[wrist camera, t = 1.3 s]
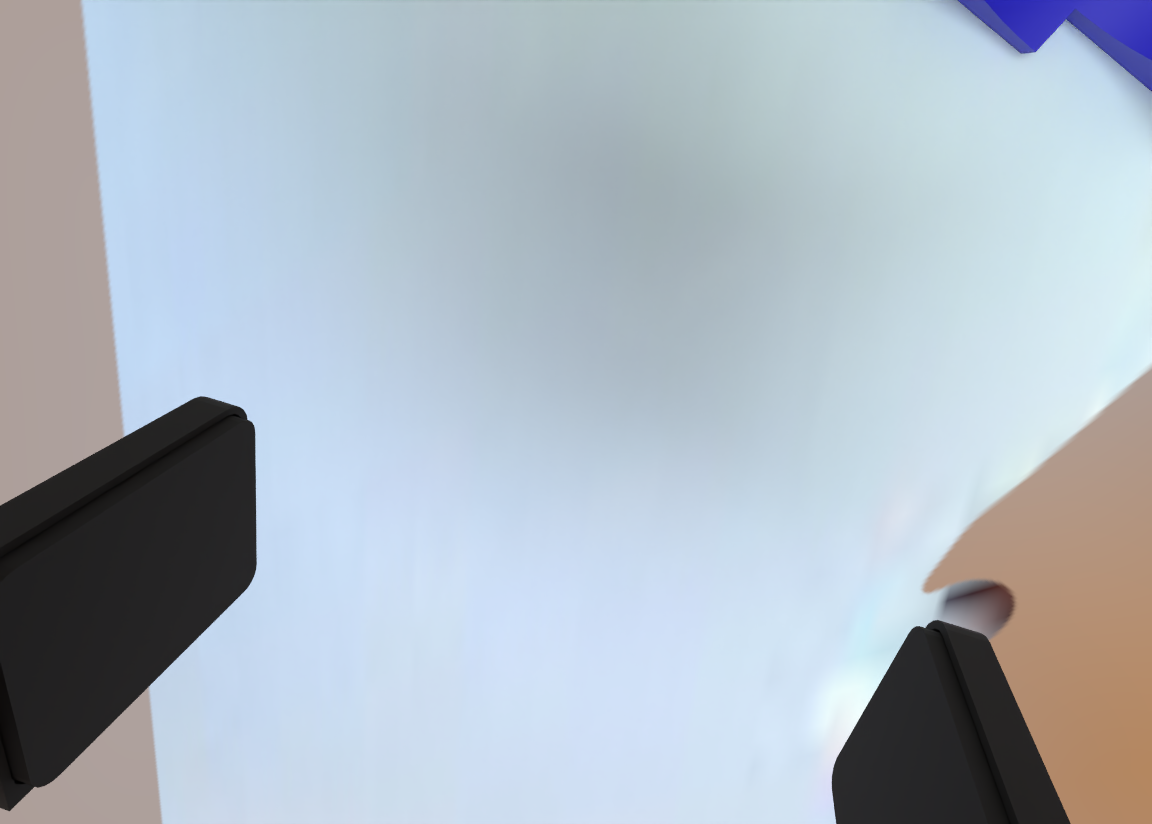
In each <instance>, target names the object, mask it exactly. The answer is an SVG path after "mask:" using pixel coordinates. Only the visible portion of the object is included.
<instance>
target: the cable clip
mask: <svg viewBox="0 0 1152 824" xmlns="http://www.w3.org/2000/svg"><path fill="white" fill-rule="evenodd" d="M958 1H959V2H960V3H961V4H963V5H964V6H965V7H966V8H967V9H969V10H970V11H971V12H972V13H973V14H975V15H976V16H977V17H978V18H979V19H981V20H982V21H983V22H984V23H985V24H986V25H988V26H989V27H990V28H991V29H992V30H994V31H995V32H996V33H997V34H998V35H1000V36H1001V37H1002V38H1003V39H1004V40H1006V41H1007V42H1008V43H1009V44H1010V45H1012V46H1013V47H1014V48H1015V49H1016V50H1018V51H1019V52H1020V53H1030V52H1036V51H1037V50H1038V49H1039V48H1040V47H1041V46H1042V44H1043V43H1044V42H1045V41H1046V40H1047V39H1048V38H1049V37H1050V36H1051V35H1052V34H1053V33H1054V31H1055V30H1056V29H1057V28H1058V27H1059V26H1060V25H1061V24H1062V23H1063V22H1064V21H1065V19H1067V20H1068V21H1069V22H1070V23H1072V24H1073V25H1074V26H1075V27H1076V28H1077V29H1079V30H1080V31H1081V32H1082V33H1083V34H1085V35H1086V36H1087V37H1088V38H1089V39H1090V40H1092V41H1093V42H1094V43H1095V44H1096V45H1098V46H1099V47H1100V48H1101V49H1102V50H1103V51H1105V52H1106V53H1107V54H1108V55H1109V56H1110V57H1112V58H1113V59H1114V60H1115V61H1116V62H1118V63H1119V64H1120V65H1121V66H1122V67H1123V68H1125V69H1126V70H1127V71H1128V72H1129V73H1131V74H1132V75H1133V76H1134V77H1135V78H1136V79H1138V80H1139V81H1140V82H1141V83H1142V84H1144V85H1145V86H1146V87H1147V88H1148V89H1149V90H1151V91H1152V0H958Z"/></svg>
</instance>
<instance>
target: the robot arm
mask: <svg viewBox="0 0 1152 824" xmlns="http://www.w3.org/2000/svg"><path fill="white" fill-rule="evenodd" d="M256 565H257V561H256V468H255V428H254V425H253V423H252V422H250V421H249V420H247V415H246V413H245V411H244V410H243V409H242V408H240V407H238V406H234V405H231V404H228V403H225V402H221V401H218V400H215V399H211V398H208V397H201V396H200V397H197V398H194V399H192V400H190V401H189V402H187V403H185V404H183V405H181V406H180V407H178V408H176V409H174V410H172V411H171V412H169V413H167V414H165V415H163V416H161V417H160V418H158V419H156V420H154V421H152V422H151V423H149V424H147V425H145V426H143V427H142V428H140V429H138V430H136V431H134V432H133V433H131V434H129V435H127V436H125V437H124V438H122V439H120V440H118V441H116V442H115V443H113V444H111V445H109V446H107V447H106V448H104V449H102V450H100V451H98V452H96V453H95V454H93V455H91V456H89V457H87V458H86V459H84V460H82V461H80V462H79V463H77V464H75V465H73V466H71V467H69V468H68V469H66V470H64V471H62V472H60V473H58V474H57V475H55V476H53V477H51V478H49V479H48V480H46V481H44V482H42V483H40V484H39V485H37V486H35V487H33V488H31V489H30V490H28V491H26V492H24V493H22V494H21V495H19V496H17V497H15V498H13V499H11V500H10V501H8V502H6V503H4V504H2V505H1V506H0V808H2V809H5V810H8V811H10V810H11V809H12V808H13V807H14V806H15V805H16V804H17V803H18V802H19V801H20V800H21V799H22V798H23V797H25V795H26V794H28V793H29V792H30V791H31V790H32V789H33V788H34V787H42V786H45V785H47V784H49V783H50V782H52V781H53V780H54V779H55V778H57V777H58V776H59V775H60V774H61V773H62V772H63V771H64V770H65V769H66V768H67V767H68V766H69V765H70V764H71V763H72V762H73V761H74V760H75V759H76V758H77V757H78V756H79V755H80V754H81V753H82V752H83V751H84V750H85V749H86V748H87V747H88V746H89V745H90V744H91V743H92V742H93V741H94V740H95V739H96V738H97V737H98V736H99V735H100V734H101V733H102V732H103V731H104V730H105V729H106V728H107V727H108V726H109V725H110V724H111V723H112V722H113V721H114V720H115V719H116V718H117V717H118V716H119V715H120V714H122V712H123V711H124V710H126V708H128V707H129V705H131V704H132V702H134V701H135V700H136V699H137V698H138V697H139V695H141V694H142V693H143V692H144V691H145V690H146V689H147V688H148V687H149V686H150V685H151V684H152V683H153V682H154V681H155V680H156V679H157V678H158V677H159V676H160V675H161V674H162V673H163V672H164V671H165V670H166V669H167V668H168V667H169V666H170V665H171V664H172V663H173V662H174V661H175V660H176V659H177V658H178V657H179V656H180V655H181V654H182V653H183V652H184V651H185V650H186V649H187V648H188V647H189V646H190V645H191V644H192V643H193V642H194V641H195V640H196V639H197V638H198V637H199V636H200V635H201V634H202V633H203V632H204V631H205V630H206V629H207V628H208V627H209V626H210V625H211V624H212V623H213V622H214V621H215V620H216V619H217V618H218V617H219V616H220V615H221V614H222V613H223V612H224V611H225V610H226V609H227V608H228V607H229V606H230V605H231V604H232V603H233V602H234V601H235V600H236V599H237V598H238V597H239V596H240V595H241V594H242V593H243V592H244V591H245V590H246V589H247V588H248V586H249V585H250V583H251V581H252V579H253V577H254V575H255V571H256ZM832 793H833V801H834V809H835V817H836V824H1070V821H1069V819H1068V817H1067V815H1066V813H1065V810H1064V809H1063V806H1062V803H1061V801H1060V799H1059V797H1058V795H1057V792H1056V790H1055V788H1054V786H1053V783H1052V781H1051V779H1050V776H1049V775H1048V772H1047V770H1046V767H1045V765H1044V763H1043V761H1042V758H1041V756H1040V754H1039V752H1038V750H1037V747H1036V745H1035V743H1034V741H1033V738H1032V736H1031V734H1030V732H1029V729H1028V727H1027V725H1026V723H1025V720H1024V718H1023V716H1022V714H1021V711H1020V709H1019V707H1018V705H1017V703H1016V700H1015V698H1014V696H1013V693H1012V691H1011V689H1010V687H1009V684H1008V682H1007V680H1006V678H1005V675H1004V673H1003V671H1002V669H1001V666H1000V664H999V662H998V660H997V657H996V655H995V653H994V651H993V649H992V646H991V644H990V642H989V640H988V639H987V637H986V636H985V635H983V634H981V633H978V632H975V631H972V630H969V629H965V628H962V627H959V626H956V625H952V624H949V623H946V622H942V621H939V620H935V621H932V622H931V623H929V624H928V625H927V627H926V628H923V627H920V626H916V627H914V628H913V629H912V630H911V631H910V633H909V634H908V636H907V638H906V639H905V641H904V643H903V644H902V646H901V648H900V650H899V651H898V653H897V655H896V657H895V658H894V660H893V662H892V664H891V665H890V667H889V669H888V670H887V672H886V674H885V676H884V677H883V679H882V681H881V683H880V684H879V686H878V688H877V689H876V691H875V693H874V695H873V696H872V698H871V700H870V702H869V703H868V705H867V707H866V709H865V710H864V712H863V714H862V715H861V717H860V719H859V721H858V722H857V724H856V726H855V728H854V729H853V731H852V733H851V735H850V736H849V738H848V740H847V741H846V743H845V745H844V747H843V748H842V750H841V752H840V754H839V755H838V757H837V759H836V762H835V765H834V768H833V774H832Z"/></svg>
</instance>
